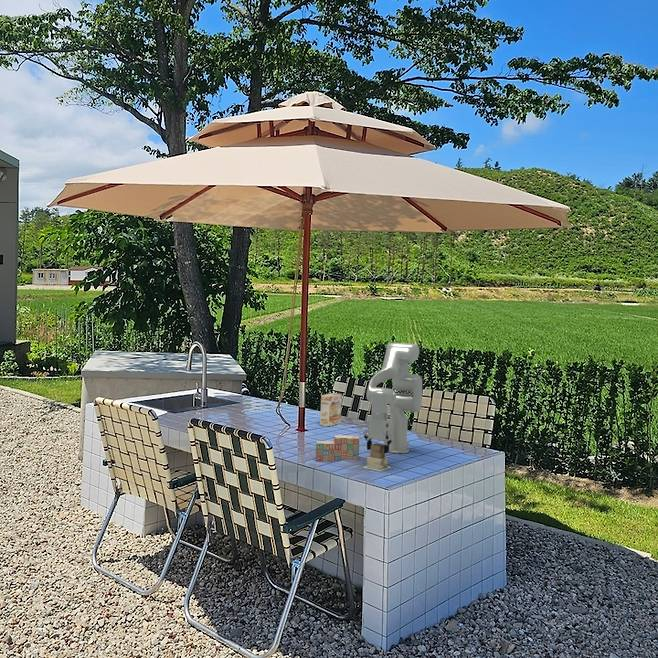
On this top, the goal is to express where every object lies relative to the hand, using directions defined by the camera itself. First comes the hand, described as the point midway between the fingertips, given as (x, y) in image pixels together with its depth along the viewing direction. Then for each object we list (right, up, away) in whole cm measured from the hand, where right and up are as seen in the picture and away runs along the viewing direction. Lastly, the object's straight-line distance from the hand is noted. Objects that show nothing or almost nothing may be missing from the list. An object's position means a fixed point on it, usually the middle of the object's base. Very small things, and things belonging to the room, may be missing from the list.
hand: (377, 451), depth 332 cm
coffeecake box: (-23, -2, +108) cm, 110 cm away
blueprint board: (0, -9, +1) cm, 9 cm away
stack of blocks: (-19, -8, +17) cm, 27 cm away
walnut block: (0, -3, 0) cm, 3 cm away
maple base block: (0, -8, 0) cm, 8 cm away
